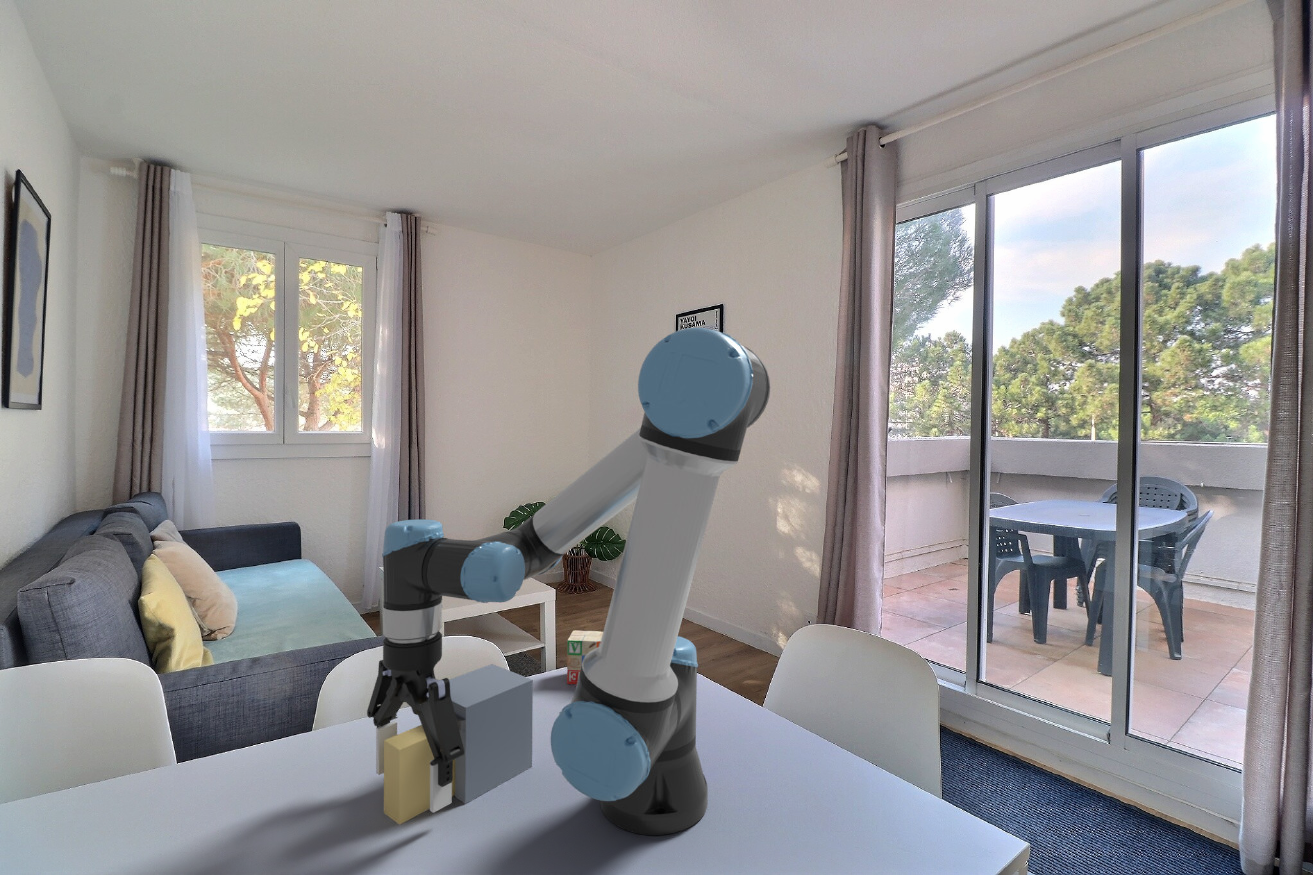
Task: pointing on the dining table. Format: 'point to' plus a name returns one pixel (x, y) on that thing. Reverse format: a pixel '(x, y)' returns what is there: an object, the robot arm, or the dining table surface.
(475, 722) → the dispenser
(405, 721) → the dining table surface
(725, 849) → the dining table surface
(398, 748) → the upright yellow slab
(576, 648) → the stack of blocks
